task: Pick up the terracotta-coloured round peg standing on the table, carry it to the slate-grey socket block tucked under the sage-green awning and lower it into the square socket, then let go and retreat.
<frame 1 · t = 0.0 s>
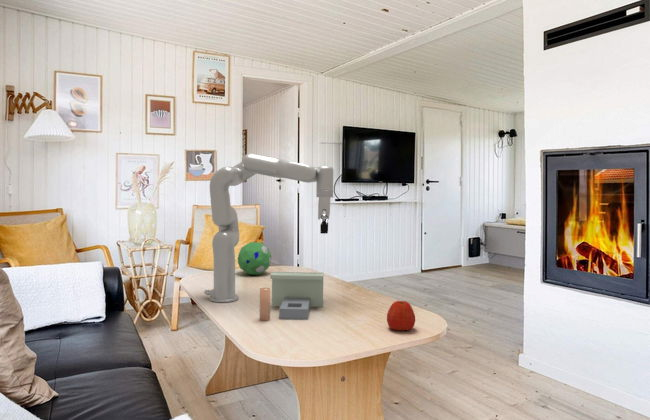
hand: (324, 232, 196), 31 cm above the table, fingers open, 9 cm apart
socket: (294, 315, 175), on the table
apple: (400, 329, 160), on the table
shelter: (296, 307, 186), resting in socket
decorative sphere: (254, 274, 255), on the table
peg: (264, 319, 169), on the table
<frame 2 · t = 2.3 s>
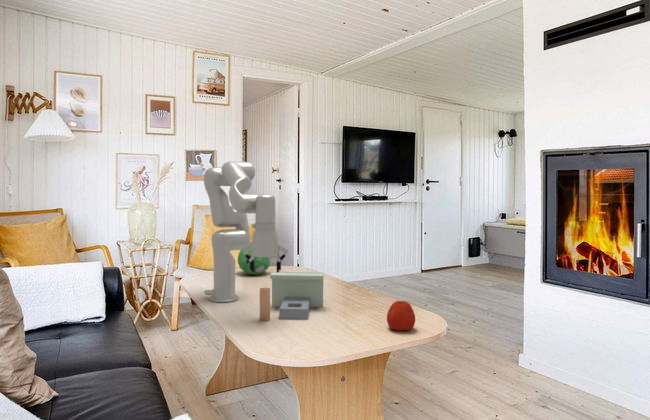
hand: (265, 271, 168), 19 cm above the table, fingers open, 9 cm apart
nothing on the table moved.
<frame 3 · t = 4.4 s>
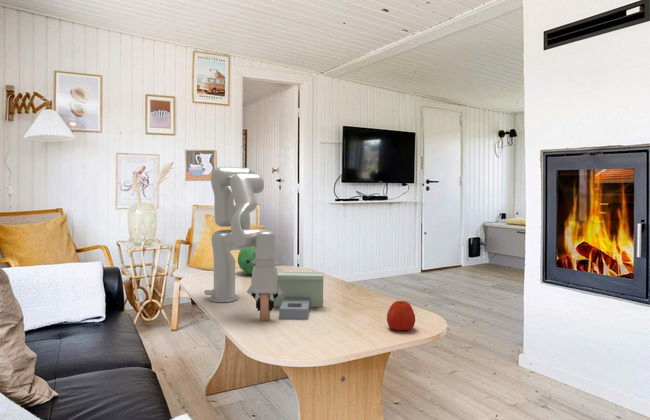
hand: (264, 309, 169), 4 cm above the table, fingers closed on peg, 4 cm apart
peg: (264, 319, 169), on the table, touching gripper
everything else where it was.
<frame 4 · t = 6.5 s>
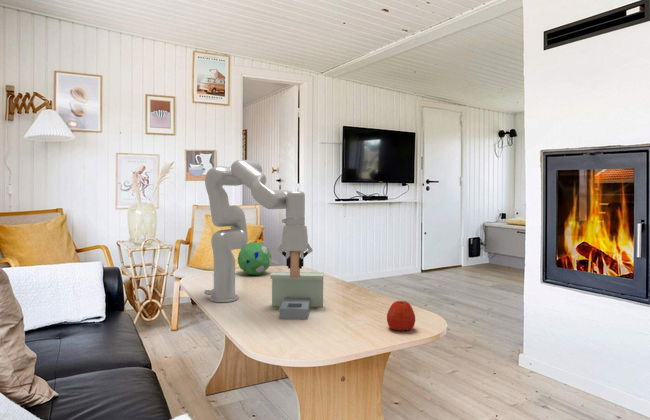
hand: (294, 267, 174), 19 cm above the table, fingers closed on peg, 4 cm apart
peg: (294, 277, 174), point 15 cm above the table, touching gripper
everything else where it was.
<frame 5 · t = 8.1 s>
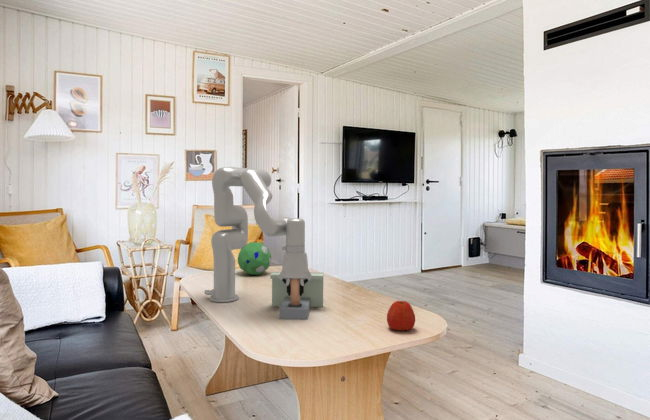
hand: (295, 294, 175), 8 cm above the table, fingers closed on peg, 4 cm apart
peg: (295, 304, 175), point 5 cm above the table, touching gripper
everything else where it was.
when the fingers open (5 cm above the table, at t = 9.0 s): peg drops 1 cm, resting in socket.
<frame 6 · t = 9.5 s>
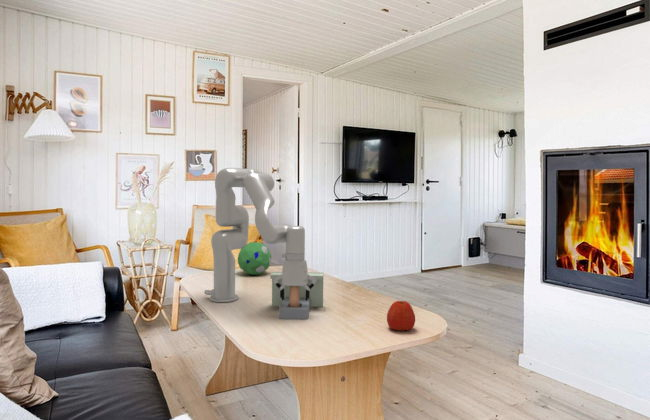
hand: (294, 299, 175), 6 cm above the table, fingers open, 9 cm apart
peg: (294, 315, 175), resting in socket
everything else where it was.
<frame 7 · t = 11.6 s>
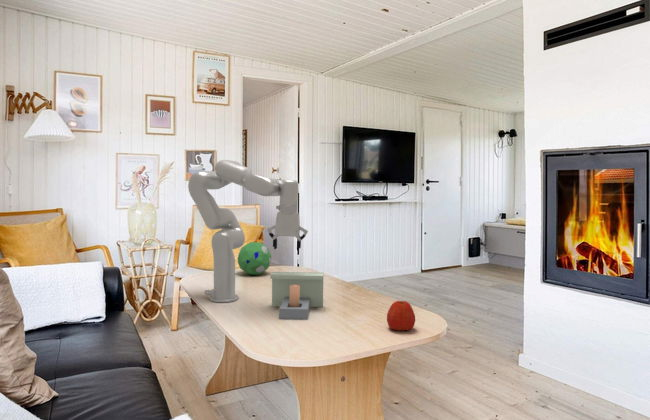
hand: (286, 249, 186), 25 cm above the table, fingers open, 9 cm apart
nothing on the table moved.
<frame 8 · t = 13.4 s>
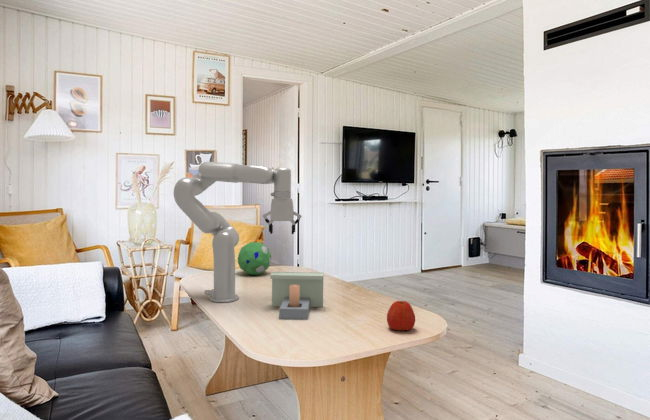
hand: (282, 233, 196), 30 cm above the table, fingers open, 9 cm apart
nothing on the table moved.
at the end: peg 0.1 cm from the target spot, resting in socket; peg tilted 0°; the gripper is holding nothing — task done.
